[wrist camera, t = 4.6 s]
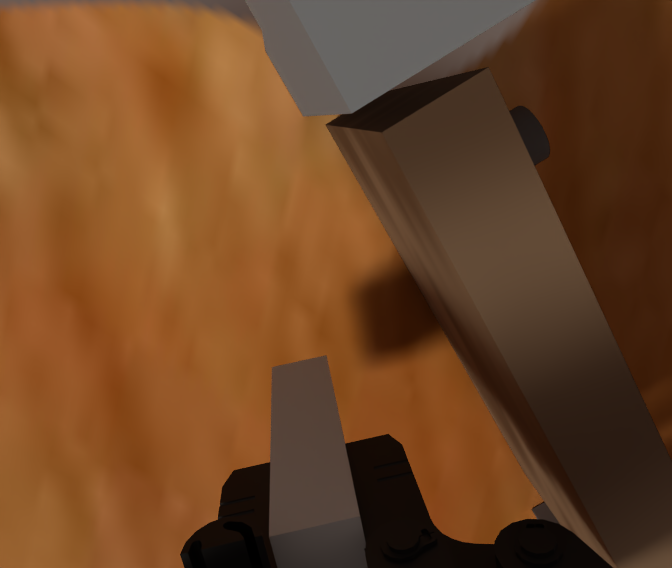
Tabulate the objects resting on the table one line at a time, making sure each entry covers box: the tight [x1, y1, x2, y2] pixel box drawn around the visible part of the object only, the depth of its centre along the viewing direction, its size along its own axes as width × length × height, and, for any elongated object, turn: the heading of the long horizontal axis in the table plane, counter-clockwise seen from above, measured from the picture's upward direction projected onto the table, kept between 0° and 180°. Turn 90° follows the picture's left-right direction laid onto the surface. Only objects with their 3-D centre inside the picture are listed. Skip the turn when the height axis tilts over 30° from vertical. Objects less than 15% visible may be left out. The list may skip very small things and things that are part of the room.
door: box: [326, 67, 672, 568], centre depth 14 cm, size 15×3×9 cm, turn 30°
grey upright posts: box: [245, 0, 560, 524], centre depth 13 cm, size 25×2×11 cm, turn 30°
